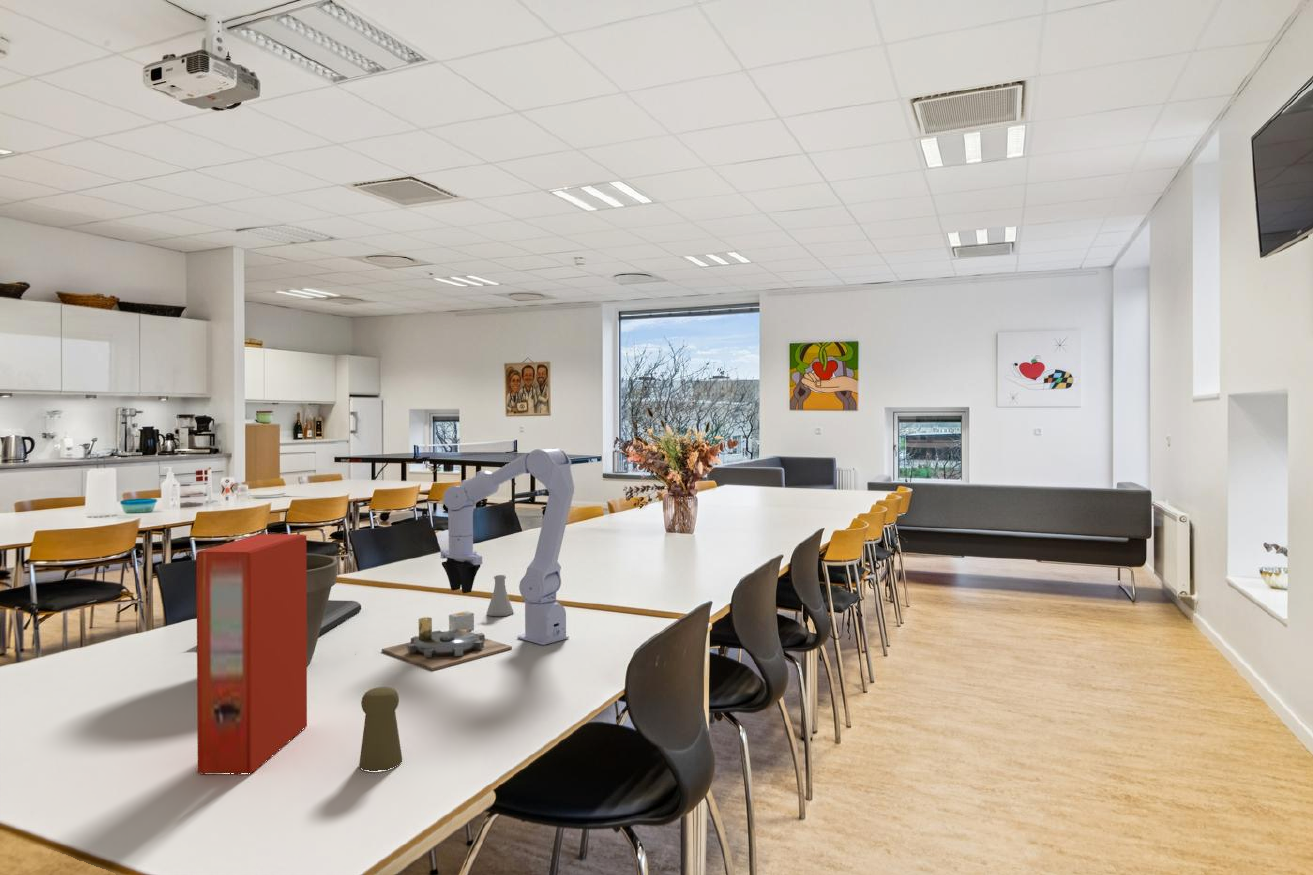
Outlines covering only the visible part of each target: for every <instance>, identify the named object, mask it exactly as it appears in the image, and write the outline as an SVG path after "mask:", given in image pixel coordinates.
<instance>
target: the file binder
mask: <svg viewBox="0 0 1313 875" xmlns="http://www.w3.org/2000/svg"><path fill="white" fill-rule="evenodd" d="M306 554H307V534H302V533H301V534H291V533H289V534H288V533H287V534H283V533H280V534H279V533H278V534H277V533H276V534H275V533H269V534H268V533H265V534H264V533H259V534H256V535H252V536H249V537H245V538H242V539H237V540H236V541H231V542H227V543H224V544H220V545H216V546H212V547H209V548H206V549H203V550H199V551H197V552H196V556H195V557H196V684H197V685H196V689H197V690H196V691H197V692H196V694H197V695H196V698H197V700H196V701H197V703H196V704H197V706H196V710H197V712H196V713H197V714H196V716H197V717H196V718H197V719H196V721H197V722H196V723H197V725H196V726H197V735H196V736H197V738H196V739H197V774H201V773H203V774H202V775H206V774H205V773H230V774H231V773H234V774H241V773H248V774H249V773H250V774H251V773H252V772H253V771H254V770H256V769H257V768H258V767H259V766H260V765H261V766H263V765H264V764H265V763H266V762H267V761H268V760H267V759H269V758H270V757H271V756H272V755H273V754H274V753H276V752H277V751H278V750H279V749H280V748H281V749H283V748H284V747H285V746H286V745H287V744H288V743H289V742H288V741H289V740H291V739H292V738H293V737H294V736H296V735H297V734H298V733H299V732H300V731H301V730H302V729H303V728H305V727H306V728H307V726H308V684H307V683H308V672H307V671H308V670H307V669H308V668H307V667H308V666H307V567H306ZM306 728H305V729H306ZM301 732H302V731H301ZM301 732H300V733H301ZM300 733H299V734H300ZM299 734H298V735H299ZM298 735H297V736H298ZM297 736H296V737H297ZM294 738H295V737H294ZM294 738H293V739H294ZM293 739H292V740H293ZM292 740H291V741H292ZM287 742H288V743H287ZM286 743H287V744H286ZM285 744H286V745H285ZM284 745H285V746H284ZM283 746H284V747H283ZM282 747H283V748H282ZM281 749H280V750H281ZM280 750H279V751H280ZM279 751H278V752H279ZM278 752H277V753H278ZM277 753H276V754H277ZM274 755H275V754H274ZM274 755H273V756H274ZM273 756H272V757H273ZM272 757H271V758H272ZM271 758H270V759H271ZM270 759H269V760H270ZM266 760H267V761H266ZM265 761H266V762H265ZM264 762H265V763H264ZM263 763H264V764H263ZM262 764H263V765H262ZM261 766H260V767H261ZM260 767H259V768H260ZM259 768H258V769H259ZM258 769H257V770H258ZM257 770H256V771H257ZM254 772H255V771H254ZM254 772H253V773H254ZM253 773H252V774H253ZM252 774H251V775H252Z"/></svg>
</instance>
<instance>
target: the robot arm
mask: <svg viewBox="0 0 1313 875" xmlns="http://www.w3.org/2000/svg"><path fill="white" fill-rule="evenodd" d="M571 466H572V460H571V459H570V458H569V456H568V455H567V453H566V452H565V451H564V450H562V449H561V448H557V447H554V448H546V449H545V448H544V449H540V448H539V449H534V450H531V451H530V452H527V453H524V454H522V455H521V456H519V457H516V458H515V459H513V460H512V461H510V462H508V463H507V464H505V465H503V466H501V467H500V468H498V469H497V470H495V471H493V472H491V471H489V470H479V471H477V472H476V473H475V474H476V475H475V476H473V477H471V478H469V479H463V480H462V481H460V484H459V485H450V486H449V487H448V488H446V490H445V491H444V493H443V497H442V500H443V504H444V505H445V507H446V508H447V510H448V512H447V513H448V517H447V518H448V520H447V521H448V526H447V527H448V549H442V550H440V559H446V560H445V561H442V562H441V566H442V567H443V569H444V571H445V573H446V575H447V576H446V577H447V578H448V582H449V587H450V589H451V591H452V592H453V591H459V590H461V592H462V594H468V593H471V592H472V590H473V586H474V582H475V578H476V576H477V573H478V571H479V569H480V568H481V565H483V556H482V555H480V554H477V551H476V550H474V516H473V515H474V511H475V510H474V509H475V506H476V504H477V503H478V502H481V501H482V500H484V499H486V498H488V497H490V496H492V495H493V494H495V493H497V492H498V490H499V488H500V485H502V484H504V483H506V482H508V481H511V480H512V479H514V478H516V477H519V476H521V475H523V474H526V475H527V474H530V475H531V476H532V477H534V478H535V479H536V480H537V481H539V482H540V483H541V484H543V486H544V487H545V489H546V490H547V492H548V498H547V501H546V502H547V503H546V507H545V511H544V515H543V520H542V523H541V528H540V532H539V535H538V540H537V545H536V550H535V554H534V558H533V559H532V561H530V563H529V565H528V566H527V568H526V572H525V574H524V575H523V577H522V578H521V580H520V581H519V586H518V587H519V588H518V589H519V593H520V595H521V597H522V598H523V599H524V612H525V613H524V619H525V620H524V629H525V631H524V632H525V633H522V634H519V635H517V638H518V639H520V640H524V641H527V642H530V643H535V644H538V645H542V646H545V645H549V644H552V643H556V642H559V641H562V640H566V639H569V638H570V636H569V635H568V634H567V611H566V609H565V607H564V605H562V604H560V603H559V602H558V600H557V592H558V591H559V590H560V588H561V585H562V578H561V569H562V566H561V564H560V563H559V561H558V560H559V556H560V551H561V547H562V542H563V538H564V536H565V535H564V534H565V531H566V526H567V522H568V518H569V517H568V516H569V514H570V509H571V505H572V502H573V497H574V493H575V484H574V480H573V474H572V470H571Z"/></svg>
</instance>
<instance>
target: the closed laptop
mask: <svg viewBox="0 0 1313 875" xmlns="http://www.w3.org/2000/svg"><path fill="white" fill-rule="evenodd" d="M361 610H362V604H361V603H360V602H359V601H355V600H334V599H333V600H332V599H331V600H329V599H328V603H327V607H326V610H325V614H324V618H323V621H322V625H321V629H320V632H319V636H318V638H319V637H320V635H321V636H322V635H324V634H325V633H327V632H329V631H331V630H332V629H334V628H335V627H337V626H339V625H340V624H343V622H346V621H347V620H349V619H350V618H352V617H353V616H355V615H356V614H359V613H360V611H361Z"/></svg>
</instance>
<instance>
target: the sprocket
mask: <svg viewBox="0 0 1313 875" xmlns="http://www.w3.org/2000/svg"><path fill="white" fill-rule="evenodd" d="M485 638H486V635H485V633H483V632H481V633H480V632H479V633H475V632H470V631H469V630H459V631H449V630H448V631H447V630H446V631H441V630H435V631H433V618H432V617H425V616H424V617H420V618H418V636H416V635H414V636H413V637H411V638H410V642H411V644H408V652H409V653H415V652H417V653H419V654H423V655H424V657H429V658H432V657H434V656H447V655H454V656H461V655H463V653H465V652H469V651H472V650H474V649H475V650H481V649H482V648H484V642H485Z"/></svg>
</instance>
